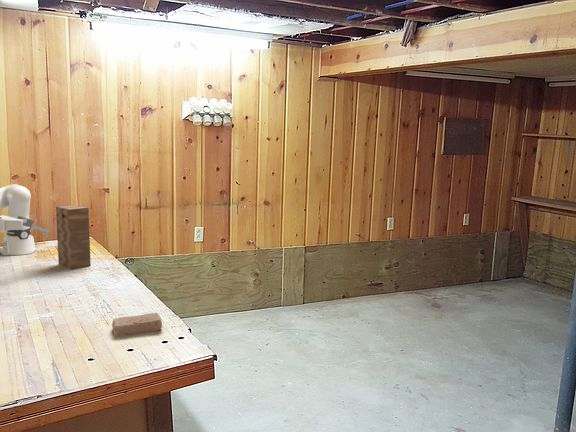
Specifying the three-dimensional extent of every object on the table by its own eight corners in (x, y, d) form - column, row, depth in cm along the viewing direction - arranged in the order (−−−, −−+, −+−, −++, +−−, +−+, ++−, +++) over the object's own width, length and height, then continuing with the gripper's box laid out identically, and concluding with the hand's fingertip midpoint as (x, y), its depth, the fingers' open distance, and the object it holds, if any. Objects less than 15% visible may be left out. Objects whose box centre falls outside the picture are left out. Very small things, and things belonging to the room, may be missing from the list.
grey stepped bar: (19, 223, 245) (22, 216, 246) (15, 222, 248) (18, 215, 248) (49, 233, 258) (52, 227, 258) (45, 232, 260) (48, 226, 261)
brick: (114, 337, 180) (114, 325, 179) (111, 329, 188) (111, 317, 187) (162, 331, 187) (162, 319, 186) (158, 323, 195) (158, 311, 194)
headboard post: (58, 264, 273) (56, 206, 268) (76, 261, 281) (74, 204, 276) (72, 269, 265) (70, 209, 260) (90, 265, 272) (88, 207, 268)
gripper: (-17, 227, 245) (14, 223, 255) (2, 233, 232) (33, 229, 243) (-18, 214, 244) (13, 211, 254) (2, 219, 231) (33, 215, 242)
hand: (23, 219), depth 249 cm, fingers closed on grey stepped bar, 4 cm apart
